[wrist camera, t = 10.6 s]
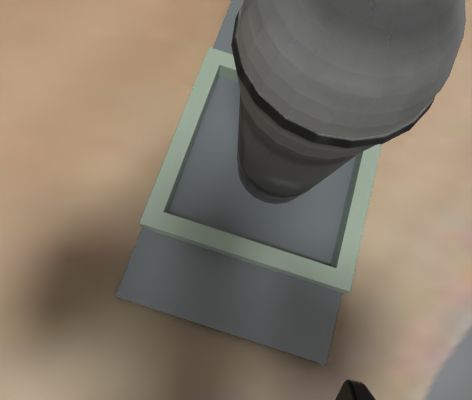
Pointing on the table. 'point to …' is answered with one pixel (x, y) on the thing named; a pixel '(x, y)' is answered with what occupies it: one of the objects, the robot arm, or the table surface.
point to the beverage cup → (333, 82)
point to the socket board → (245, 230)
